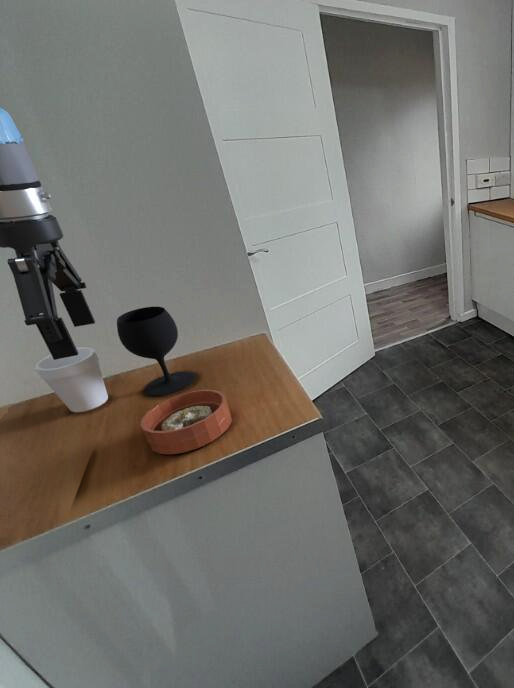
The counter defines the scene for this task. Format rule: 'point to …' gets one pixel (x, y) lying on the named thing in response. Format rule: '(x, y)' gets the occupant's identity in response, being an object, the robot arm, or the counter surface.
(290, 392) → the counter surface
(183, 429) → the bowl
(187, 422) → the cake
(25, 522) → the counter surface
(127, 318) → the wine glass
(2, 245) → the robot arm
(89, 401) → the foam cup
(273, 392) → the counter surface
